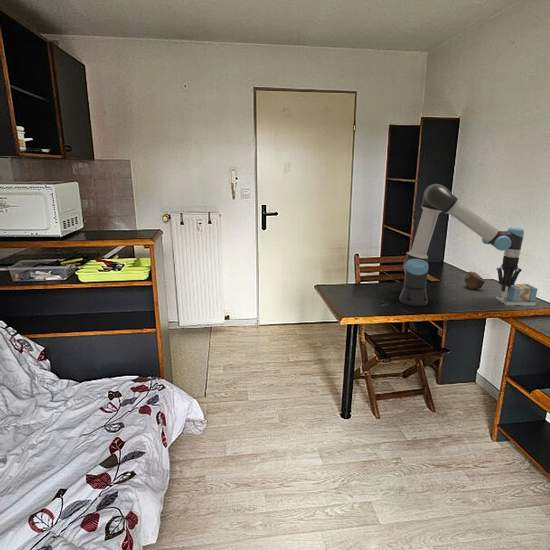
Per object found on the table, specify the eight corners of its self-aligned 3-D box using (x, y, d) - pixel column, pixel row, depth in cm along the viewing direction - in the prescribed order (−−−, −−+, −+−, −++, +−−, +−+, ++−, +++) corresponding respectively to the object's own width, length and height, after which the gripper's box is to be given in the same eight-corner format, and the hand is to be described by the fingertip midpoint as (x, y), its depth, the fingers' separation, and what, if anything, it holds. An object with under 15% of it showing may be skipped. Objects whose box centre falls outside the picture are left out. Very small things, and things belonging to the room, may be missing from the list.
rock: (489, 284, 242) (479, 276, 239) (476, 296, 246) (466, 288, 242) (477, 274, 253) (468, 266, 249) (465, 285, 256) (456, 278, 253)
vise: (506, 305, 221) (509, 289, 218) (495, 298, 231) (498, 283, 228) (535, 305, 220) (538, 289, 218) (523, 299, 231) (526, 283, 228)
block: (518, 302, 221) (521, 288, 219) (510, 297, 229) (513, 284, 227) (527, 302, 221) (530, 288, 219) (519, 297, 229) (522, 284, 227)
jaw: (513, 301, 221) (515, 288, 219) (504, 296, 230) (506, 284, 227) (519, 301, 221) (521, 289, 219) (510, 296, 230) (512, 284, 227)
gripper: (503, 257, 215) (495, 298, 221) (527, 257, 215) (519, 299, 221) (496, 254, 222) (489, 294, 229) (519, 254, 222) (511, 294, 228)
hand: (503, 296), depth 225 cm, fingers closed
